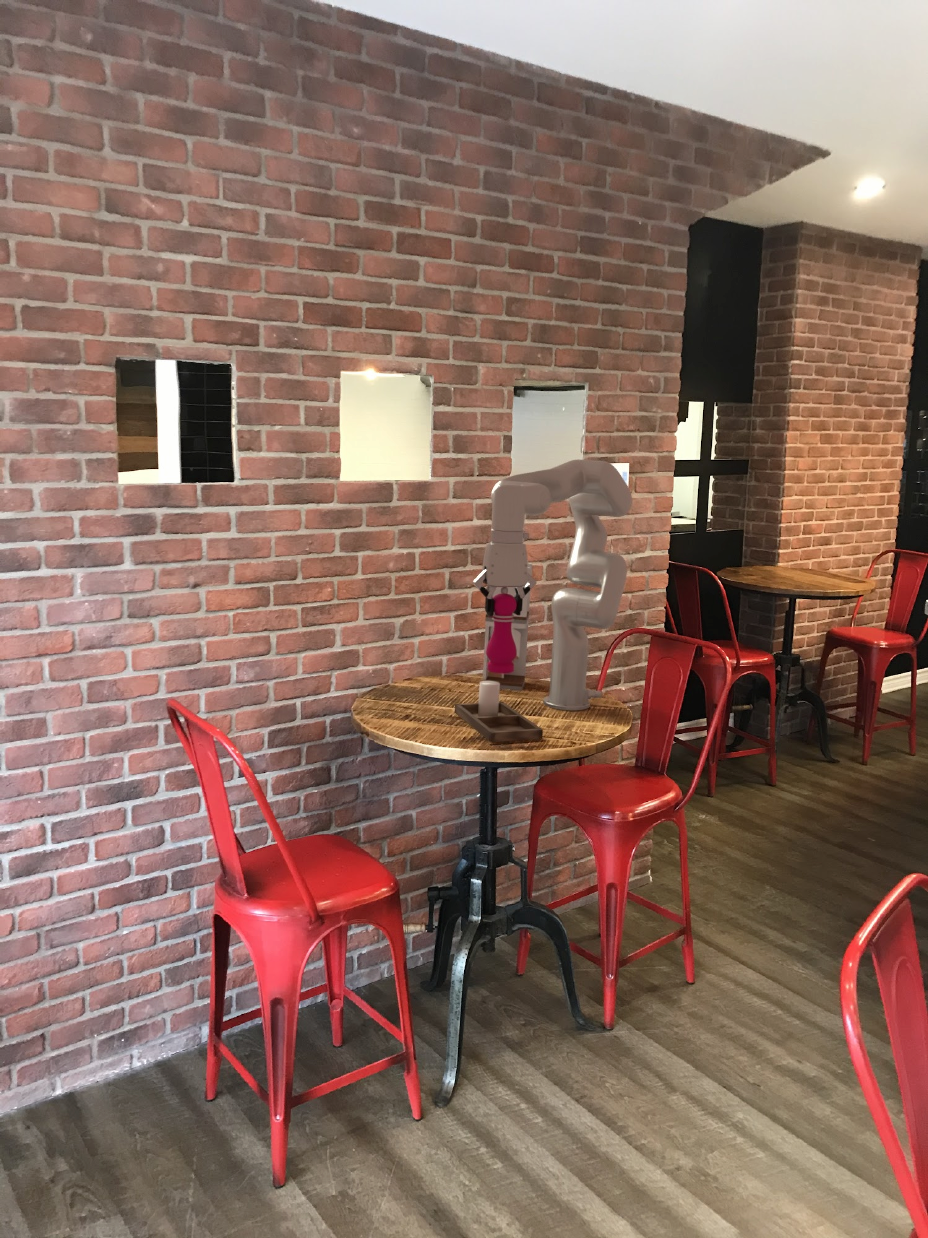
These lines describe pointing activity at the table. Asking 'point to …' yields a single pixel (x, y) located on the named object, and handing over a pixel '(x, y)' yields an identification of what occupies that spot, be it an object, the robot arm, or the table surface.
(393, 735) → the table surface
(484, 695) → the salt shaker
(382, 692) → the table surface
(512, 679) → the spiral ramp tower
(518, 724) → the walnut cruet tray
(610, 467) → the robot arm
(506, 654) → the pepper mill
